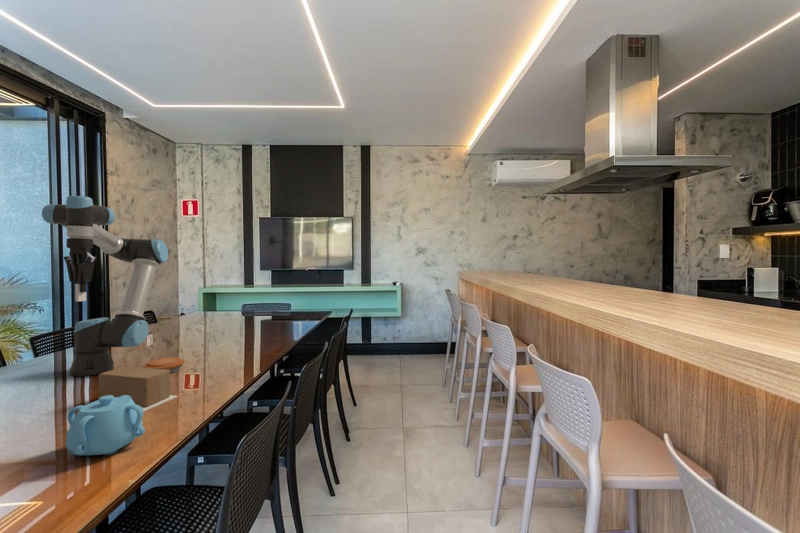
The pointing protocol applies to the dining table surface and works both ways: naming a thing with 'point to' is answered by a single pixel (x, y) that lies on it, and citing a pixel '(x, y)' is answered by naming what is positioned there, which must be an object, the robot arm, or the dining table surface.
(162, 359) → the pie
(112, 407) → the decorative pot
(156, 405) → the mat
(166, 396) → the wooden block
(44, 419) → the dining table surface
